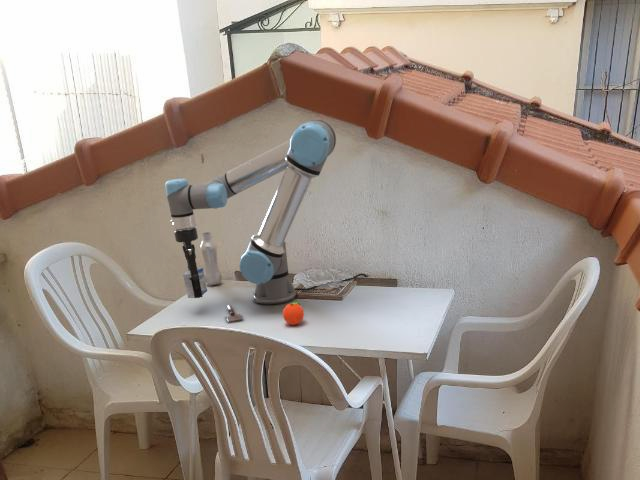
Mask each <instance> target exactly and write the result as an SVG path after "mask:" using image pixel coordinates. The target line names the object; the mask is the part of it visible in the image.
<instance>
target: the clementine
mask: <svg viewBox="0 0 640 480" xmlns="http://www.w3.org/2000/svg"><path fill="white" fill-rule="evenodd" d="M304 317H305V311H304V309H303V307H302V306H301V303H300V302H291V303H288V304H287V305H286V306H285V307H284V308H283V311H282V318H283V319H284V321H285V322H286V323H287V324H288V325H291V326H294V325H295V326H296V325H298V324H300V323H301V322H302V321H303V320H304Z"/></svg>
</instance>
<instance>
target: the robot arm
mask: <svg viewBox="0 0 640 480" xmlns="http://www.w3.org/2000/svg"><path fill="white" fill-rule="evenodd" d="M336 144H337V136H336V132H335V130H334V128H333V126H332V125H331V124H330V123H328V122H327V121H325V120H323V119H312V120H310V121H307V122H305V123H302V124H300V125H299V126H298V127H296V129H295V130H294V131H293V133H292V134H291V137H290V139H288V140H286V141H285V142H282V143H281V144H278V145H277V146H274V147H273V148H271V149H269V150H267V151H265V152H264V153H262V154H260V155H258V156H255V157H254V158H252V159H250V160H248V161H246V162H244V163H242V164H240V165H238V166H237V167H236V166H235V167H234V168H233V169H230V170H229V171H227V172H225V173H223V174H221V175H218V176H216V177H214V178H213V179H211V180H209V181H207V182H206V183H203V184H189V181H188V179H186V178H175V179H170V180H167V181H166V182H165V194H166V199H167V204H168V207H169V208H168V209H169V213H170V217H171V218H170V220H169V222H170V224H172V228H173V229H174V231H173V233H174V238H175V241H176V242H177V243H182V244H183V245H181V247H182V252H183V253H184V258H185V260H186V263H187V269H188V271H189V270H190V274H191V278H189V280H191V281H192V286H193V292H194V297H195V298H194V299H201V298H203V295H202V291H201V286H200V280H199V275H198V270H197V268H198V266H197V262H196V259H197V256H196V246H195V244H193V243H192V242H194V241H196V240H198V239H199V236H198V231H197V227H196V226H197V224H196V217H195V213H194V210H204V209H205V210H206V209H208V210H209V209H215V210H217V209H220V208H224V207H226V205H227V202H228V199H230V198H232V197H234V196H236V195H237V194H239V193H241V192H244V191H245V190H248V189H250V188H251V187H254V186H256V185H257V184H259V183H261V182H264V181H266V180H268V179H270V178H272V177H274V176H276V175H277V174H280V173H281V172H284V173H283V175H282V178H281V180H280V182H279V185H278V187H277V189H276V192H275V195H274V196H273V199H272V201H271V204H270V206H269V208H268V211H267V213H266V216H265V218H264V220H263V222H262V225H261V227H260V229H259V232H258V233H256V234H253V235H252V236H251V239H250V241H249V244H248V246H247V249H246V250H245V252H244V253H243V254H242V255H241V257H240V260H239V271H240V273H241V275H242V277H243V278H244V279H245V280H246V281H247V282H249V283H251V284H254V285H255V288H254V291H252V295H253V297H254V302H255V303H257V304H261V305H279V304H280V305H281V304H284V303H289V302H291V301H293V300H294V299H295V298H296V297H297V291H310V290H313V289H315V288H317V287H319V286H315V285H313V286H310V287H306V289H305V288H301V287H294V284H293V281H292V280H291V277H290V275H289V273H290V272H289V265H288V256H287V247H286V244H287V243H286V239H287V236H288V234H289V231H290V230H291V227H292V225H293V223H294V220H295V218H296V216H297V214H298V212H299V209H300V207H301V205H302V202H303V200H304V198H305V197H306V196H305V195H306V193H307V192H308V189H309V187H310V185H311V183H312V180H313V179H314V178H317V177H319V176H320V174H321V172H322V170H323V167H324V165H325V164H326V161H327V159H328V157H329V156H331V154H332V153H333V152H334V149H335V148H336ZM361 276H363V277H365V278H367V277H368V275H367V274H365V273H358V274H356V275H354V276H352V277H353V278H352V277H349V278H348V277H347V278H344V279H345V280H343V281H341V282H340V283H342V282H348V281H352V280H354V279H357V278H359V277H361Z"/></svg>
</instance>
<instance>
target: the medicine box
mask: <svg viewBox="0 0 640 480" xmlns="http://www.w3.org/2000/svg"><path fill="white" fill-rule="evenodd" d="M197 270H198V275H199V280H200V286H201V291H202V296H203V295H204V294H206V293H207V292H208V288H207V283H206V280H205V270H204V268H203V267H197ZM182 276H183V281H184V286H185V290H186V296H187V299H196V298H195V297H194V292H193V286H192V281H191V280H189V278H191V274H190V270H189V269H188V270H187V271H186V272H185V273H183V275H182Z"/></svg>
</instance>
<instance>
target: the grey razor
mask: <svg viewBox="0 0 640 480" xmlns="http://www.w3.org/2000/svg"><path fill="white" fill-rule="evenodd" d="M226 308H227V311H228V313H229V315H226V316H225V319H226V320H227V321H226V322H227V323H228V324H230V323H236V322H243V317H242V316H241V314H240V313H237V314H236V313H235V311H234V309H233V307H232V304H228V305H227V306H226Z"/></svg>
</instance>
